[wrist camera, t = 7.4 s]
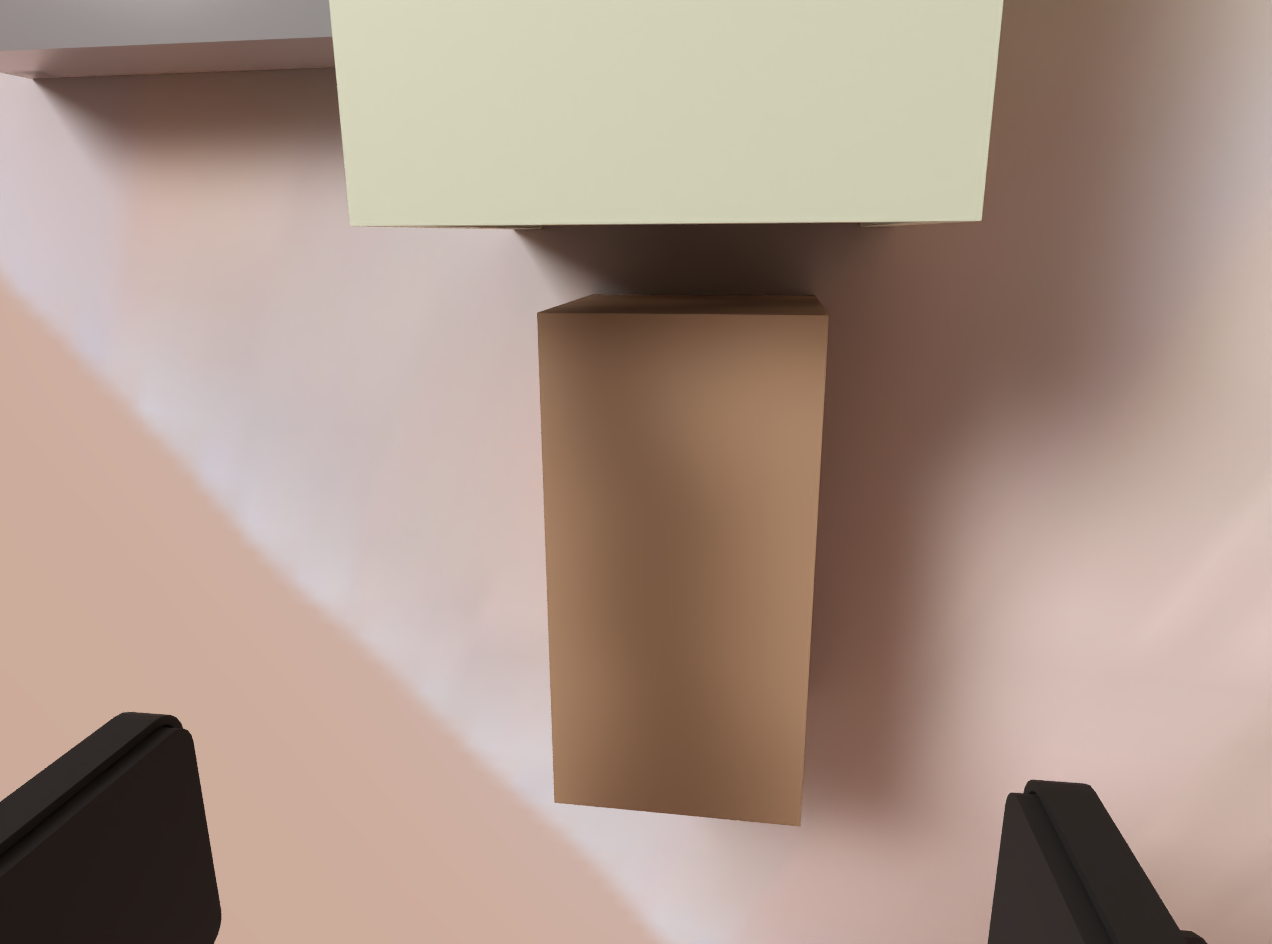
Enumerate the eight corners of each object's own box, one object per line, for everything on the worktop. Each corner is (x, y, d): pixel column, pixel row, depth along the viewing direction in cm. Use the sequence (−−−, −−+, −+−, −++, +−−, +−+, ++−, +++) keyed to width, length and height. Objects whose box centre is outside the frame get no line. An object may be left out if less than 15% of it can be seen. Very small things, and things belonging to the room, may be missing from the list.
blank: (814, 295, 19) (828, 315, 14) (793, 695, 22) (799, 826, 17) (594, 293, 20) (537, 312, 15) (600, 681, 22) (554, 802, 18)
